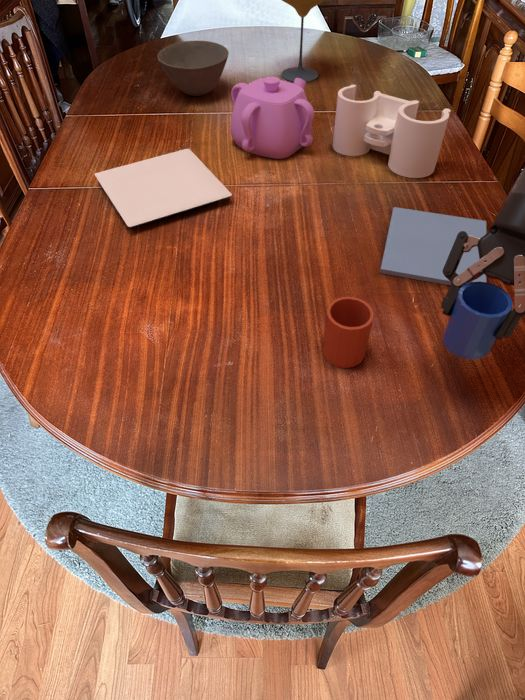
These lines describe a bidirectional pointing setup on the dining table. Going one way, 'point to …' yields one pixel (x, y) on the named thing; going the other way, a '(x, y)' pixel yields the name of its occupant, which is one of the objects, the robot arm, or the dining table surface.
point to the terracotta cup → (347, 331)
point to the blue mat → (427, 244)
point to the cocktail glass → (301, 42)
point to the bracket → (388, 131)
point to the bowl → (194, 65)
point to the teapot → (271, 117)
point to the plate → (161, 187)
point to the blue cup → (476, 319)
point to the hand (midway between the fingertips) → (471, 326)
